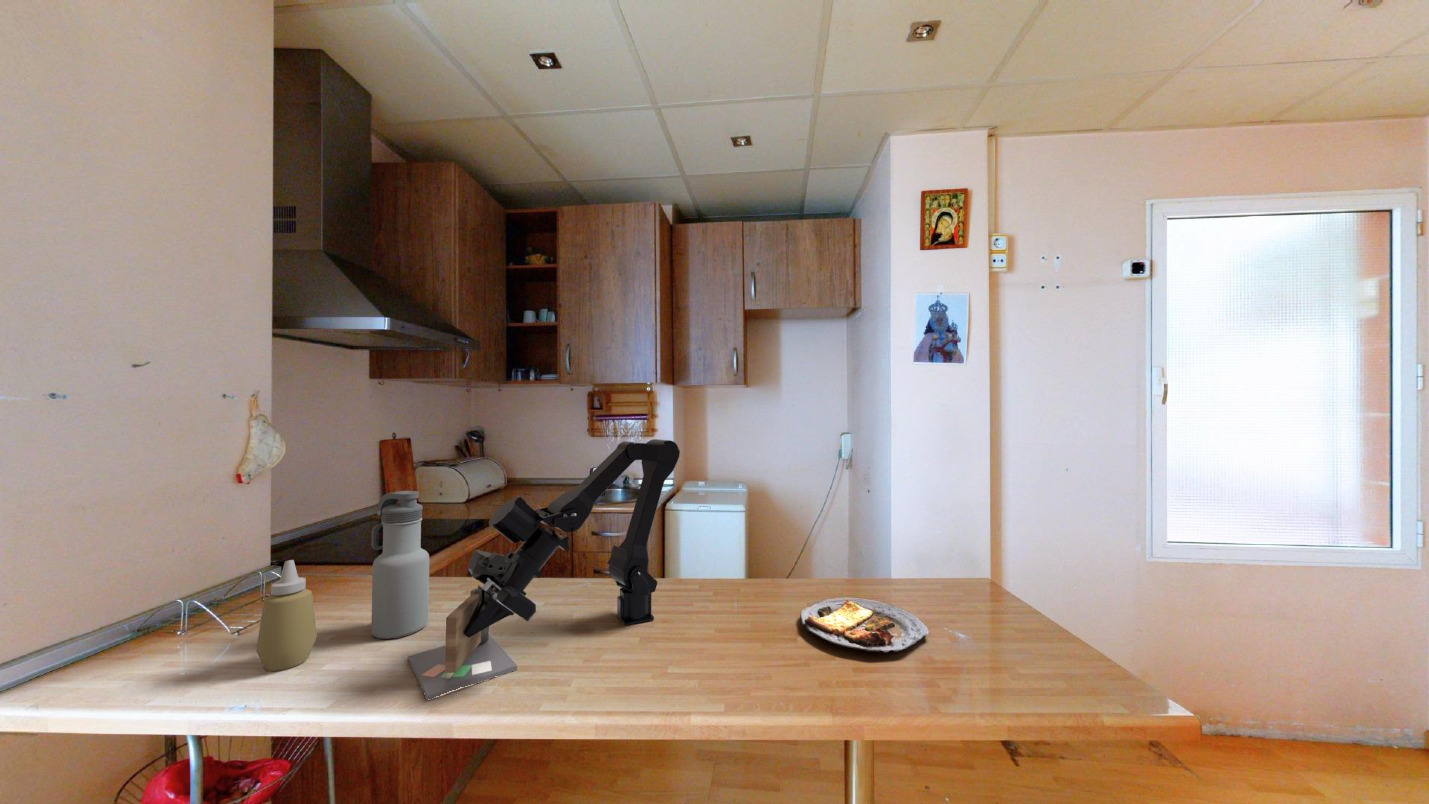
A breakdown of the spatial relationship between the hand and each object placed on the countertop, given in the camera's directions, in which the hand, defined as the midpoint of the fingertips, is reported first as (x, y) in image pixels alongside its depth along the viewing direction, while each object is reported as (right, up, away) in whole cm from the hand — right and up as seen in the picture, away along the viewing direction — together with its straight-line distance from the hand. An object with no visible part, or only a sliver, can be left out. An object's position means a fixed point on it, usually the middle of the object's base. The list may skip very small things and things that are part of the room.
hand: (466, 635), depth 82 cm
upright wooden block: (-2, -5, +3) cm, 6 cm away
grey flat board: (-2, -6, +2) cm, 7 cm away
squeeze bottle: (-33, -6, +3) cm, 34 cm away
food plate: (+73, -7, +17) cm, 75 cm away
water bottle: (-22, -7, +16) cm, 28 cm away
